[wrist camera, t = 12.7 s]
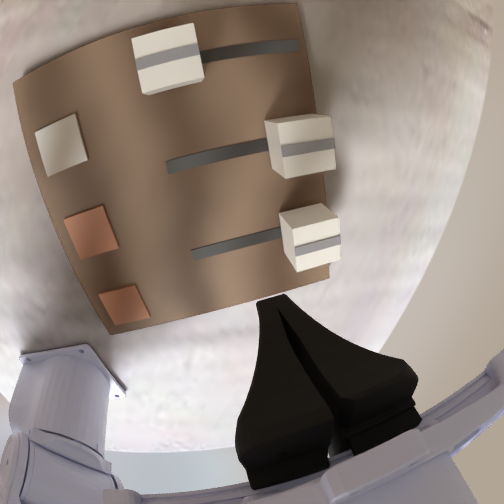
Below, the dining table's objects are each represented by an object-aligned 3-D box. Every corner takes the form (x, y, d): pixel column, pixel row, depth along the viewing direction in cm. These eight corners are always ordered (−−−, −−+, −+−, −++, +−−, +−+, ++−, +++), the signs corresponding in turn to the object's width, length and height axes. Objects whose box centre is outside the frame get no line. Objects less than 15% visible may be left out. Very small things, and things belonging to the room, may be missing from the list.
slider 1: (148, 95, 14) (141, 93, 12) (139, 48, 12) (131, 38, 10) (201, 81, 14) (204, 77, 12) (192, 34, 13) (193, 22, 10)
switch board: (112, 326, 22) (110, 336, 21) (20, 83, 12) (11, 82, 11) (324, 271, 24) (330, 279, 23) (291, 7, 14) (297, 2, 13)
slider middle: (272, 168, 17) (286, 179, 15) (264, 120, 16) (277, 123, 14) (317, 159, 18) (336, 169, 15) (311, 113, 16) (331, 116, 14)
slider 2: (284, 252, 20) (297, 273, 18) (278, 213, 19) (292, 229, 17) (323, 241, 21) (340, 260, 18) (321, 202, 19) (339, 218, 17)
